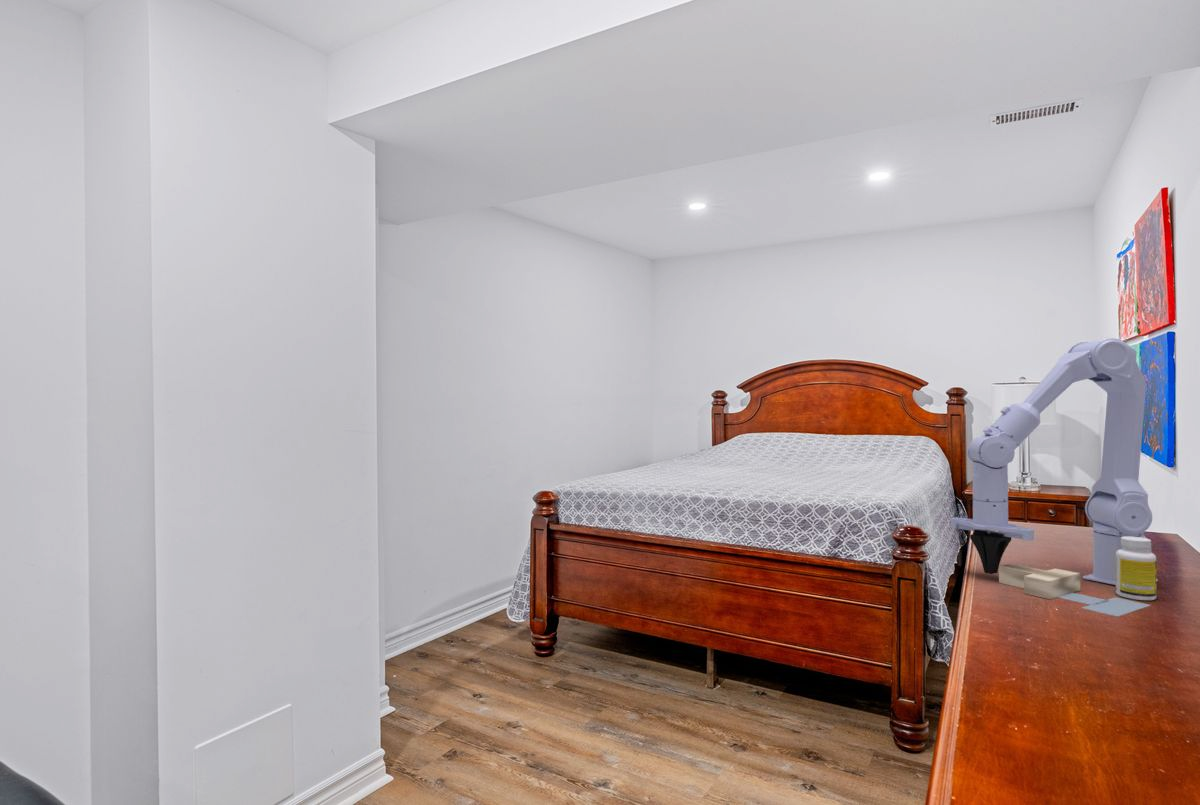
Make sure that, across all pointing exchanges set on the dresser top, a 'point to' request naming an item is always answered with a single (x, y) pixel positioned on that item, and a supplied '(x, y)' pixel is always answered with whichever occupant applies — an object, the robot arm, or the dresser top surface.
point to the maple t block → (1040, 580)
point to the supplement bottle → (1136, 569)
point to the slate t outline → (1106, 604)
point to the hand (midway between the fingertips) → (990, 572)
